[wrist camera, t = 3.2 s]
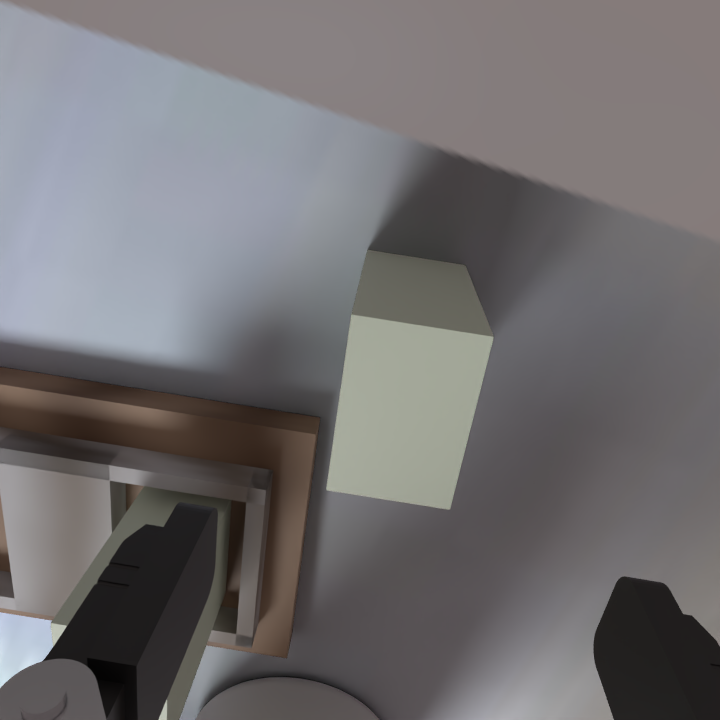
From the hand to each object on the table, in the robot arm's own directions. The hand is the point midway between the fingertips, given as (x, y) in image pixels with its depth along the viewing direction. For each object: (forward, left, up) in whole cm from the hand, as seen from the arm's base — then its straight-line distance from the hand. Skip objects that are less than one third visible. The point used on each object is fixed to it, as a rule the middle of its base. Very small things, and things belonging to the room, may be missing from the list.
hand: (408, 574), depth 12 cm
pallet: (-14, -12, -14) cm, 23 cm away
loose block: (0, 0, -14) cm, 14 cm away
